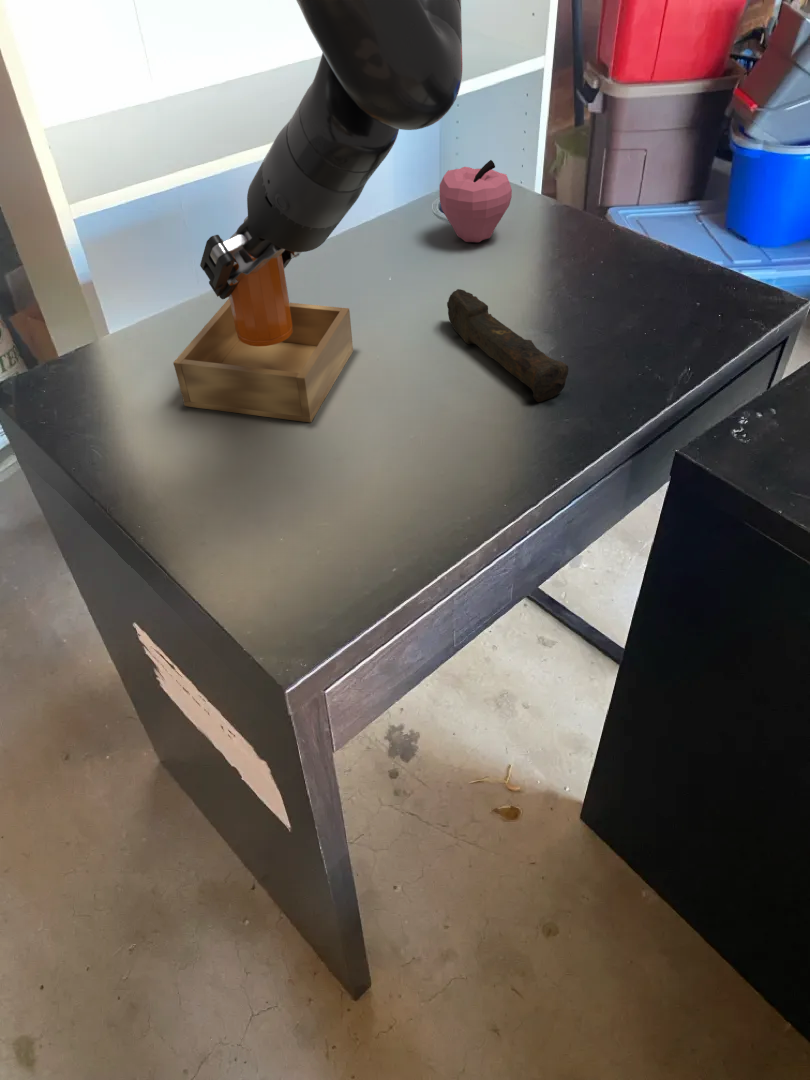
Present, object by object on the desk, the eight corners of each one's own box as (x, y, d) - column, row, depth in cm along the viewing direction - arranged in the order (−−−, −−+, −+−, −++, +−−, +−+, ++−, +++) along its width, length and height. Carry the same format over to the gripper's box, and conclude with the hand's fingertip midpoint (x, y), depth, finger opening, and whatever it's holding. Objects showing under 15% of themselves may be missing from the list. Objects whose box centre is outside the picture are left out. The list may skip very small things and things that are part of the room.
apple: (480, 218, 114) (482, 142, 107) (523, 238, 109) (528, 159, 102) (425, 238, 110) (424, 160, 103) (468, 260, 105) (469, 179, 98)
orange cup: (228, 343, 82) (209, 256, 75) (250, 316, 85) (234, 230, 79) (281, 349, 80) (266, 261, 74) (301, 321, 84) (288, 234, 78)
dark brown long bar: (568, 395, 82) (573, 354, 79) (534, 407, 81) (538, 365, 78) (470, 315, 95) (471, 277, 91) (439, 324, 93) (439, 286, 90)
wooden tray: (184, 406, 83) (172, 362, 80) (238, 338, 93) (230, 296, 89) (311, 422, 80) (304, 378, 77) (353, 350, 90) (349, 308, 86)
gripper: (350, 116, 69) (281, 220, 83) (208, 166, 62) (160, 270, 76) (397, 196, 70) (321, 285, 84) (263, 254, 63) (205, 340, 77)
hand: (245, 277), depth 80 cm, fingers closed on orange cup, 5 cm apart
